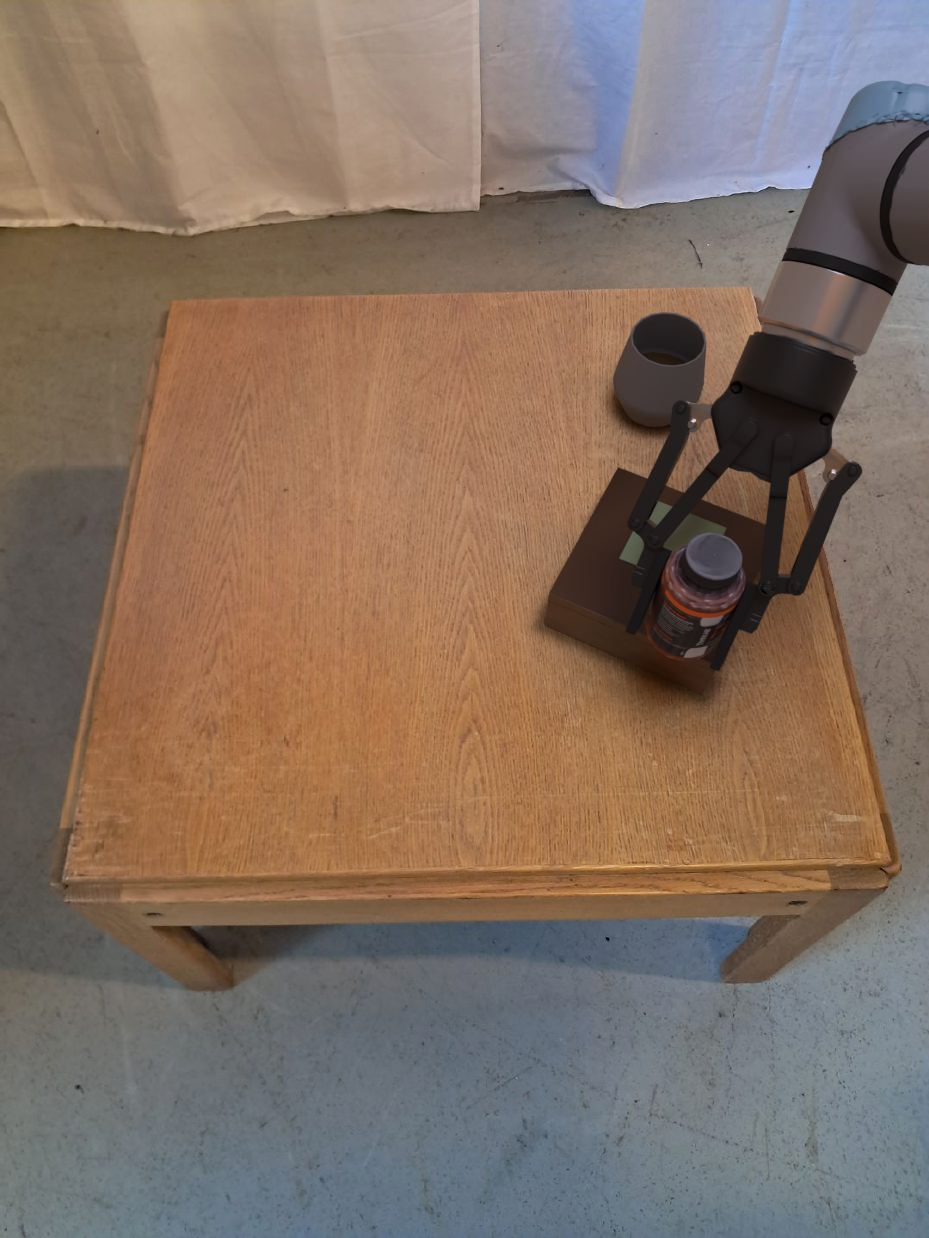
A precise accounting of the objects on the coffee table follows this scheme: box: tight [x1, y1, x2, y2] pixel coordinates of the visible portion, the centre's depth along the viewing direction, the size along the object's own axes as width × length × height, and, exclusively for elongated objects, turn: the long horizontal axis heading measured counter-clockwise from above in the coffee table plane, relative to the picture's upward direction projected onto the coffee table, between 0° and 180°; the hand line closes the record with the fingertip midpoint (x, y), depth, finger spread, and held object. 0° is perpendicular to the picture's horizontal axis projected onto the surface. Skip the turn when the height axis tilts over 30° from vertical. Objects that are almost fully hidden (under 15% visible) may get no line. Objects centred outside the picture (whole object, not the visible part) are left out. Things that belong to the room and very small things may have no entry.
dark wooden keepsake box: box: [544, 466, 766, 695], centre depth 86 cm, size 16×16×6 cm
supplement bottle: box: [646, 533, 746, 661], centre depth 68 cm, size 6×6×11 cm
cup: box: [612, 311, 708, 428], centre depth 95 cm, size 10×9×10 cm
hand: (674, 646), depth 69 cm, fingers closed on supplement bottle, 6 cm apart
